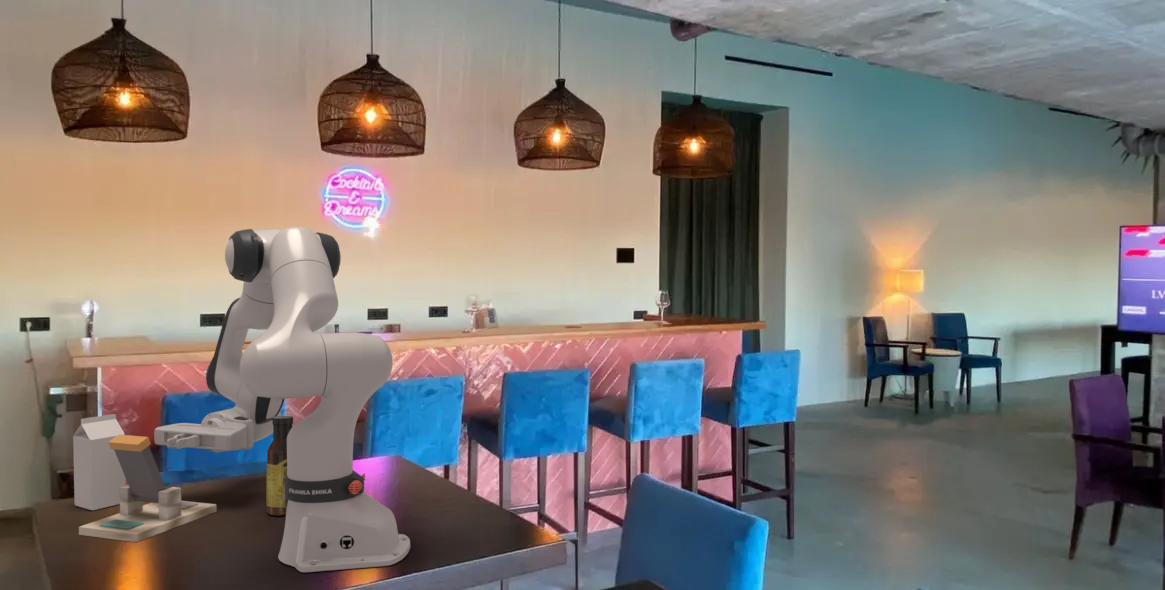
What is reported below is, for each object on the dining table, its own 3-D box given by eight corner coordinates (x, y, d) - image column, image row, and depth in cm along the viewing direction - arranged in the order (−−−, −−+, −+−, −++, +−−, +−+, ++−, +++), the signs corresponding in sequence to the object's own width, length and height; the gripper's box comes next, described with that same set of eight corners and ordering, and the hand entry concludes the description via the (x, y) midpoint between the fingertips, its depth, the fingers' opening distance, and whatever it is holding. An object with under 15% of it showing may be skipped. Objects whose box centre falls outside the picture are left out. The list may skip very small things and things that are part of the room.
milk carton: (126, 503, 175) (124, 415, 175) (91, 511, 169) (89, 420, 169) (108, 498, 179) (106, 412, 179) (74, 506, 173) (72, 417, 173)
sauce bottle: (287, 518, 165) (286, 420, 164) (260, 516, 166) (258, 419, 165) (305, 508, 171) (304, 414, 171) (278, 506, 172) (277, 413, 172)
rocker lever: (142, 493, 164) (118, 434, 159) (171, 496, 162) (148, 436, 157) (132, 501, 162) (108, 442, 157) (161, 505, 160) (138, 444, 154)
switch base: (163, 505, 174) (162, 472, 173) (216, 511, 169) (216, 478, 169) (79, 534, 155) (78, 498, 154) (136, 542, 150) (135, 504, 150)
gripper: (183, 414, 183) (132, 425, 170) (258, 419, 177) (211, 432, 164) (183, 441, 184) (132, 455, 170) (259, 448, 177) (212, 463, 164)
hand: (172, 444), depth 167 cm, fingers closed
